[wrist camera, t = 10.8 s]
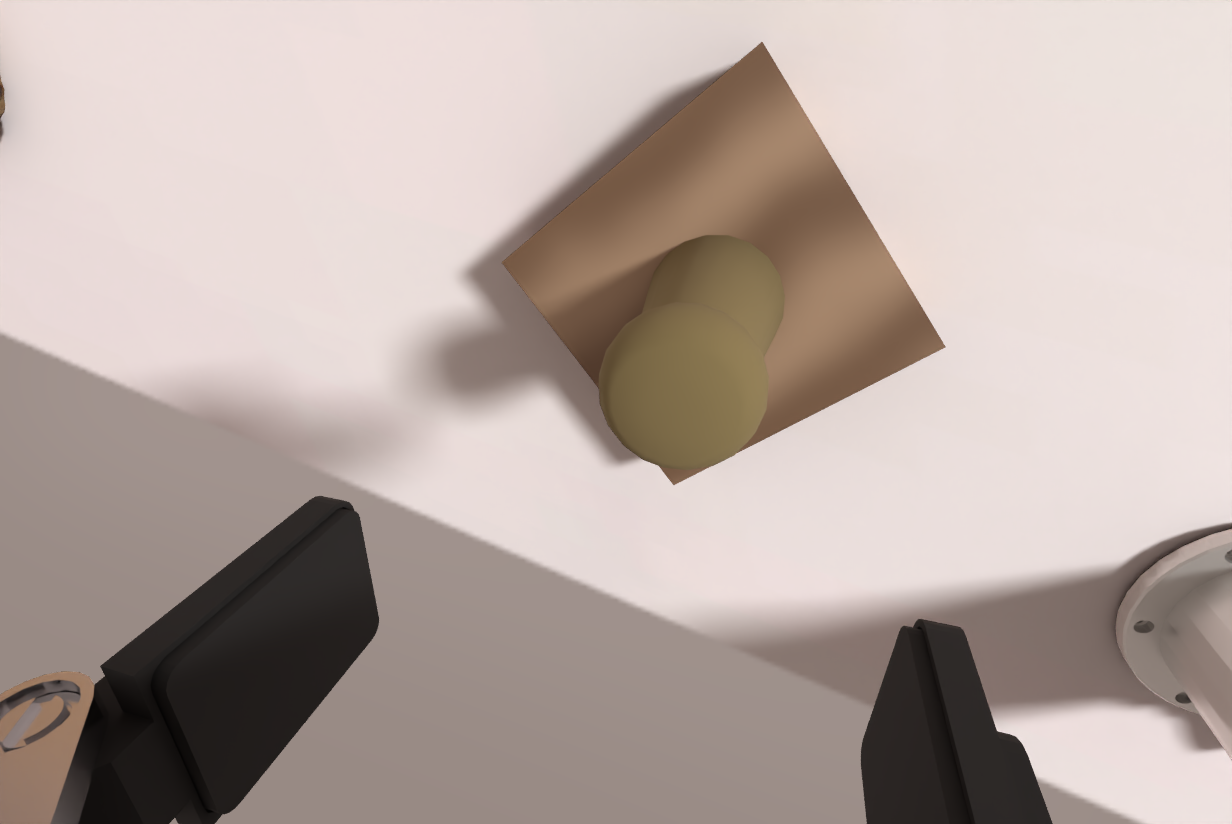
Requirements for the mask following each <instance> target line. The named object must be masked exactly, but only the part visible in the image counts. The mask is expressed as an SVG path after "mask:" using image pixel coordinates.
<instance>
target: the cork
mask: <svg viewBox="0 0 1232 824" xmlns="http://www.w3.org/2000/svg"><path fill="white" fill-rule="evenodd" d="M784 302H785V294H784V290H783V286H782V282H781V278H780V275H779V273H778V272H777V270H776V269H775V267H774V265H773V264H772V262H771V261H770V259H769V258H768V256H766V255H765V254H764V253H763V252H761V251H760V250H759V249H757V248H756V247H755V246H754V245H752V244H751V243H749V242H746V241H744V240H741V239H738V238H735V237H732V236H729V235H704V236H701V237H698V238H695V239H691V240H688V241H685V242H683V243H682V244H681V245H679V246H678V247H676V248H675V249H674V250H672V251H671V252H669V253H668V254H667V255H666V256H665V258H664V259H663V260H662V262H661V263H660V264H659V266H658V267H657V269H656V270H655V271H654V274H653V277H652V280H651V283H650V286H649V290H648V293H647V297H646V300H645V304H644V308H643V311H642V314H640V315H639V316H637V317H636V318H634V319H633V320H631V321H630V322H628V323H627V324H626V325H625V326H624V327H623V328H622V329H621V331H620V332H619V333H618V335H617V336H616V337H615V339H614V340H613V342H612V343H611V344H610V346H609V347H608V348H607V350H606V352H605V356H604V359H603V363H602V366H601V369H600V373H599V399H600V406H601V408H602V411H603V413H604V416H605V419H606V421H607V424H608V426H609V427H610V429H611V430H612V431H613V432H614V434H615V435H616V436H617V438H618V439H619V440H620V441H621V443H622V444H623V445H624V446H625V447H626V448H628V449H629V450H630V451H632V452H633V453H635V454H636V455H637V456H639V457H640V458H641V459H643V460H645V461H648V462H650V463H653V464H655V465H658V466H661V467H663V468H672V469H681V470H692V469H697V468H703V467H709V466H714V465H716V464H718V463H720V462H722V461H724V460H726V459H728V458H730V457H732V456H734V455H735V454H736V453H737V452H738V451H739V450H740V449H741V448H742V447H743V446H744V445H745V444H746V443H747V442H748V441H749V440H750V439H751V438H752V437H753V435H754V434H755V433H756V431H757V429H758V426H759V424H760V422H761V420H762V418H763V416H764V414H765V412H766V408H767V397H768V386H769V376H768V372H767V368H766V365H765V361H764V357H765V355H766V353H767V351H768V349H769V347H770V345H771V343H772V341H773V339H774V337H775V335H776V332H777V330H778V328H779V326H780V324H781V321H782V319H783V313H784Z"/></svg>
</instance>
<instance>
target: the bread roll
mask: <svg viewBox="0 0 1232 824" xmlns="http://www.w3.org/2000/svg"><path fill="white" fill-rule="evenodd" d="M4 110H5V102H4V88H3V85H2V82H1V77H0V117H1V115H2V114H3V113H4Z"/></svg>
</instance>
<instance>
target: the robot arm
mask: <svg viewBox="0 0 1232 824" xmlns="http://www.w3.org/2000/svg"><path fill="white" fill-rule="evenodd" d="M378 624H379V616H378V611H377V606H376V600H375V595H374V590H373V584H372V579H371V574H370V569H369V563H368V558H367V553H366V548H365V542H364V537H363V532H362V527H361V521H360V517H359V514H358V513H357V512H355V511H354V509H353V506H352V505H351V504H350V503H349V502H347V501H342V500H338V499H333V498H328V497H323V496H317V497H314V498H312V499H311V500H309V501H308V502H307V503H305V504H304V505H303V506H302V507H301V508H299V509H298V510H297V511H295V512H294V513H293V514H292V515H290V516H289V517H288V518H287V519H285V520H284V521H283V522H282V523H280V524H279V525H278V526H276V527H275V528H274V529H273V530H271V531H270V532H269V533H268V534H266V535H265V536H264V537H263V538H261V539H260V540H259V541H258V542H256V543H255V544H254V545H252V546H251V547H250V548H249V549H247V550H246V551H245V552H244V553H242V554H241V555H240V556H239V557H237V558H236V559H235V560H234V561H232V562H231V563H230V564H228V565H227V566H226V567H225V568H224V569H222V570H221V571H220V572H218V573H217V574H216V575H215V576H213V577H212V578H211V579H210V580H208V581H207V582H206V583H205V584H203V585H202V586H201V587H199V588H198V589H197V590H196V591H195V592H193V593H192V594H191V595H189V596H188V597H187V598H186V599H184V600H183V601H182V602H181V603H179V604H178V605H177V606H175V607H174V608H173V609H172V610H170V611H169V612H168V613H167V614H165V615H164V616H163V617H162V618H160V619H159V620H158V621H157V622H155V623H154V624H153V625H151V626H150V627H149V628H148V629H146V630H145V631H144V632H143V633H142V634H140V635H139V636H138V637H137V638H135V639H134V640H133V641H131V642H130V643H129V644H127V645H126V646H125V647H124V648H122V649H121V650H120V651H119V652H117V653H116V654H115V655H114V656H112V657H111V658H110V659H109V660H107V661H106V662H105V663H104V664H102V665H101V666H100V667H101V668H102V671H103V673H104V675H105V677H103V678H102V679H101V680H100V681H99V682H97V683H96V684H95V685H94V684H93V682H92V680H91V679H90V677H89V676H87V675H85V674H82V673H80V672H70V671H62V672H57V673H51V674H45V675H42V676H39V677H36V678H33V679H30V680H28V681H25V682H23V683H21V684H19V685H17V686H15V687H13V688H11V689H9V690H7V691H5V692H3V693H2V694H0V824H169V823H170V822H171V821H172V820H173V819H174V818H176V820H177V822H178V823H179V824H215V823H216V822H217V820H218V819H219V818H220V817H221V815H222V814H227V813H229V812H231V811H232V810H233V809H235V808H236V807H237V806H238V804H239V803H240V802H241V801H242V800H243V799H244V797H245V796H246V795H247V794H248V792H249V791H250V790H251V788H252V787H253V786H254V785H255V784H256V782H257V781H258V780H259V779H260V777H261V776H262V775H263V774H264V772H265V771H266V770H267V769H268V768H269V766H270V765H271V764H272V763H273V761H274V760H275V759H276V758H277V756H278V755H279V754H280V753H281V752H282V750H283V749H284V747H286V745H287V744H288V743H289V741H290V740H291V739H292V738H293V737H294V735H295V734H296V733H297V732H298V730H299V729H300V728H301V726H302V725H303V724H304V723H305V722H306V721H307V719H308V718H309V717H310V716H311V714H312V713H313V712H314V711H315V709H316V708H317V707H318V706H319V704H320V703H321V702H322V701H323V700H324V698H325V697H326V696H327V695H328V693H329V692H330V691H331V690H332V688H333V687H334V686H335V685H336V683H337V682H338V681H339V680H340V678H341V677H342V676H343V675H344V674H345V672H346V671H347V670H348V668H349V667H350V666H351V665H352V664H353V662H354V661H355V660H356V659H357V657H358V656H359V655H360V654H361V652H362V651H363V650H364V649H365V648H366V646H367V645H368V644H369V643H370V641H371V640H372V639H373V637H374V636H375V634H376V631H377V628H378ZM1115 628H1116V638H1117V644H1118V646H1119V648H1120V651H1121V653H1122V655H1123V658H1124V659H1125V661H1126V662H1127V664H1128V665H1129V667H1130V668H1131V670H1132V671H1133V673H1134V674H1135V676H1136V677H1137V678H1138V679H1139V680H1140V681H1141V682H1142V683H1143V684H1144V685H1145V686H1146V687H1147V688H1148V689H1149V690H1150V691H1151V692H1153V693H1154V694H1156V695H1158V696H1159V697H1161V698H1162V699H1164V700H1165V701H1167V702H1169V703H1171V704H1173V705H1175V706H1178V707H1180V708H1182V709H1185V710H1187V711H1189V712H1193V713H1196V714H1200V715H1201V716H1202V717H1203V719H1204V720H1205V722H1206V723H1207V725H1208V726H1209V728H1210V729H1211V731H1212V732H1213V733H1214V735H1215V736H1216V738H1217V739H1218V741H1219V742H1220V744H1221V745H1222V747H1223V748H1224V750H1225V751H1226V752H1227V754H1228V755H1229V757H1230V758H1231V760H1232V529H1229V530H1226V531H1222V532H1218V533H1215V534H1211V535H1209V536H1206V537H1204V538H1201V539H1199V540H1197V541H1194V542H1192V543H1189V544H1187V545H1185V546H1183V547H1181V548H1179V549H1177V550H1176V551H1174V552H1172V553H1171V554H1169V555H1167V556H1165V557H1164V558H1162V559H1160V560H1159V561H1158V562H1157V563H1155V564H1154V565H1153V566H1152V567H1150V568H1149V569H1148V570H1147V571H1146V572H1144V573H1143V574H1142V575H1141V576H1140V577H1139V578H1138V579H1137V581H1136V582H1135V583H1134V584H1133V585H1132V587H1131V588H1130V589H1129V590H1128V591H1127V593H1126V595H1125V597H1124V599H1123V601H1122V603H1121V605H1120V607H1119V609H1118V615H1117V620H1116V625H1115ZM861 769H862V780H863V788H864V789H863V790H864V800H865V809H866V819H867V824H1052V821H1051V818H1050V815H1049V813H1048V810H1047V807H1046V804H1045V802H1044V799H1043V796H1042V793H1041V791H1040V788H1039V785H1038V782H1037V780H1036V777H1035V774H1034V771H1033V769H1032V766H1031V763H1030V760H1029V757H1028V755H1027V753H1026V751H1025V749H1024V747H1023V745H1022V743H1021V742H1020V741H1019V740H1018V739H1017V737H1015V736H1013V735H1010V734H1006V733H1002V732H998V731H997V730H996V727H995V724H994V721H993V718H992V715H991V712H990V709H989V706H988V703H987V700H986V697H985V694H984V690H983V687H982V684H981V681H980V678H979V675H978V672H977V669H976V666H975V663H974V660H973V657H972V654H971V651H970V648H969V645H968V641H967V638H966V636H965V633H964V631H963V630H962V629H961V628H960V627H957V626H952V625H947V624H942V623H937V622H932V621H927V620H922V619H918V620H917V621H916V622H915V625H914V627H913V628H912V627H908V626H903V627H902V628H901V629H900V632H899V635H898V637H897V640H896V643H895V646H894V649H893V652H892V655H891V658H890V661H889V664H888V667H887V670H886V673H885V676H884V679H883V682H882V685H881V688H880V691H879V694H878V697H877V700H876V703H875V706H874V709H873V711H872V714H871V718H870V721H869V723H868V726H867V729H866V732H865V735H864V738H863V742H862V748H861Z"/></svg>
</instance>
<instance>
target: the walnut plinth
mask: <svg viewBox="0 0 1232 824" xmlns="http://www.w3.org/2000/svg"><path fill="white" fill-rule="evenodd" d="M704 235H729V236H732V237H735V238H738V239H741V240H744V241H746V242H749V243H751V244H752V245H754V246H755V247H756V248H757V249H759V250H760V251H761V252H763V253H764V254H765V255H766V256H768V258H769V259H770V261H771V262H772V264H773V265H774V267H775V269H776V270H777V272H778V273H779V275H780V278H781V282H782V286H783V290H784V294H785V302H784V313H783V319H782V321H781V324H780V326H779V328H778V330H777V332H776V335H775V337H774V339H773V341H772V343H771V345H770V347H769V349H768V351H767V353H766V355H765V357H764V361H765V365H766V368H767V372H768V376H769V386H768V397H767V408H766V412H765V414H764V416H763V418H762V420H761V422H760V424H759V426H758V429H757V431H756V433H755V434H754V435H753V437H752V438H751V439H750V440H749V441H748V442H747V443H746V444H745V445H744V446H743V447H742V448H741V449H740V450H739V451H738V452H740V451H742V450H744V449H746V448H748V447H750V446H752V445H754V444H756V443H758V442H760V441H762V440H764V439H766V438H768V437H770V436H772V435H774V434H775V433H777V432H779V431H781V430H783V429H785V428H787V427H789V426H791V425H793V424H795V423H797V422H799V421H801V420H803V419H805V418H807V417H809V416H811V415H813V414H815V413H817V412H819V411H821V410H823V409H825V408H827V407H829V406H831V405H833V404H835V403H837V402H839V401H840V400H842V399H844V398H846V397H848V396H850V395H852V394H854V393H856V392H858V391H860V390H862V389H864V388H866V387H868V386H870V385H872V384H874V383H876V382H878V381H880V380H882V379H884V378H886V377H888V376H890V375H892V374H894V373H896V372H898V371H900V370H902V369H904V368H905V367H907V366H909V365H911V364H913V363H915V362H917V361H919V360H921V359H923V358H925V357H927V356H929V355H931V354H933V353H935V352H937V351H939V350H941V349H943V348H945V345H944V344H943V342H942V340H941V339H940V337H939V335H938V334H937V332H936V330H935V329H934V327H933V325H932V324H931V322H930V320H929V319H928V317H927V315H926V314H925V312H924V310H923V309H922V307H921V305H920V304H919V302H918V300H917V299H916V297H915V295H914V294H913V292H912V290H911V289H910V287H909V285H908V284H907V282H906V280H905V279H904V277H903V275H902V274H901V272H900V270H899V269H898V267H897V265H896V264H895V262H894V260H893V259H892V257H891V255H890V254H889V252H888V250H887V249H886V247H885V245H884V244H883V242H882V240H881V239H880V237H879V235H878V234H877V232H876V230H875V229H874V227H873V225H872V224H871V222H870V220H869V219H868V217H867V215H866V214H865V212H864V210H863V209H862V207H861V205H860V204H859V202H858V200H857V199H856V197H855V195H854V194H853V192H852V190H851V189H850V187H849V185H848V184H847V182H846V180H845V179H844V177H843V175H842V174H841V172H840V170H839V169H838V167H837V165H836V164H835V162H834V160H833V159H832V157H831V155H830V154H829V152H828V150H827V149H826V147H825V145H824V144H823V142H822V140H821V139H820V137H819V135H818V134H817V132H816V130H815V129H814V127H813V125H812V124H811V122H810V120H809V119H808V117H807V115H806V114H805V112H804V110H803V109H802V107H801V105H800V104H799V102H798V100H797V99H796V97H795V95H794V94H793V92H792V90H791V89H790V87H789V85H788V84H787V82H786V80H785V79H784V77H783V76H782V74H781V72H780V71H779V69H778V67H777V66H776V64H775V62H774V61H773V59H772V57H771V56H770V54H769V52H768V51H767V49H766V47H765V46H764V44H763V42H761V43H760V44H759V45H758V46H757V47H755V48H754V49H753V50H752V51H751V52H750V53H748V54H747V55H746V56H745V57H744V58H742V59H741V60H740V61H739V62H738V63H737V64H735V65H734V66H733V67H732V68H731V69H729V70H728V71H727V72H726V73H725V74H724V75H722V76H721V77H720V78H719V79H718V80H716V81H715V82H714V83H713V84H712V85H711V86H709V87H708V88H707V89H706V90H705V91H703V92H702V93H701V94H700V95H699V96H698V97H696V98H695V99H694V100H693V101H692V102H690V103H689V104H688V105H687V106H686V107H685V108H683V109H682V110H681V111H680V112H679V113H677V114H676V115H675V116H674V117H673V118H672V119H670V120H669V121H668V122H667V123H666V124H665V125H663V126H662V127H661V128H660V129H659V130H657V131H656V132H655V133H654V134H653V135H652V136H650V137H649V138H648V139H647V140H646V141H644V142H643V143H642V144H641V145H640V146H639V147H637V148H636V149H635V150H634V151H633V152H631V153H630V154H629V155H628V156H627V157H626V158H624V159H623V160H622V161H621V162H620V163H618V164H617V165H616V166H615V167H614V168H613V169H611V170H610V171H609V172H608V173H607V174H605V175H604V176H603V177H602V178H601V179H600V180H598V181H597V182H596V183H595V184H594V185H592V186H591V187H590V188H589V189H588V190H587V191H585V192H584V193H583V194H582V195H581V196H579V197H578V198H577V199H576V200H575V201H574V202H572V203H571V204H570V205H569V206H568V207H567V208H565V209H564V210H563V211H562V212H561V213H559V214H558V215H557V216H556V217H555V218H554V219H552V220H551V221H550V222H549V223H548V224H546V225H545V226H544V227H543V228H542V229H541V230H539V231H538V232H537V233H536V234H535V235H533V236H532V237H531V238H530V239H529V240H528V241H526V242H525V243H524V244H523V245H522V246H520V247H519V248H518V249H517V250H516V251H515V252H513V253H512V254H511V255H510V256H509V257H507V258H506V259H505V260H504V261H503V262H502V263H503V265H504V266H505V267H506V269H507V270H508V271H509V273H510V274H511V275H512V276H513V278H514V279H515V280H516V282H517V283H518V284H519V286H520V287H521V288H522V289H523V291H524V292H525V293H526V295H527V296H528V297H529V298H530V300H531V301H532V302H533V304H534V305H535V306H536V308H537V309H538V310H539V311H540V313H541V314H542V315H543V317H544V318H545V319H546V320H547V322H548V323H549V324H550V326H551V327H552V328H553V330H554V331H555V332H556V333H557V335H558V336H559V337H560V339H561V340H562V341H563V343H564V344H565V345H566V346H567V348H568V349H569V350H570V352H571V353H572V354H573V355H574V357H575V358H576V359H577V361H578V362H579V363H580V365H581V366H582V367H583V368H584V370H585V371H586V372H587V374H588V375H589V376H590V377H591V379H592V380H593V381H594V383H595V384H596V385H597V387H598V388H599V373H600V369H601V366H602V363H603V359H604V356H605V352H606V350H607V348H608V347H609V346H610V344H611V343H612V342H613V340H614V339H615V337H616V336H617V335H618V333H619V332H620V331H621V329H622V328H623V327H624V326H625V325H626V324H627V323H628V322H630V321H631V320H633V319H634V318H636V317H637V316H639V315H640V314H642V311H643V308H644V304H645V300H646V297H647V293H648V290H649V286H650V283H651V280H652V277H653V274H654V271H655V270H656V269H657V267H658V266H659V264H660V263H661V262H662V260H663V259H664V258H665V256H666V255H667V254H668V253H669V252H671V251H672V250H674V249H675V248H676V247H678V246H679V245H681V244H682V243H683V242H685V241H688V240H691V239H695V238H698V237H701V236H704ZM738 452H737V453H738ZM659 467H660V468H661V469H662V471H663V472H664V473H665V475H666V476H667V477H668V479H669V480H670V481H671V482H672V484H673V485H675V484H677V483H679V482H681V481H683V480H685V479H687V478H689V477H691V476H693V475H695V474H697V473H699V472H701V471H703V470H705V469H707V468H709V467H710V466H709V467H703V468H697V469H692V470H681V469H672V468H663V467H661V466H659Z"/></svg>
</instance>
